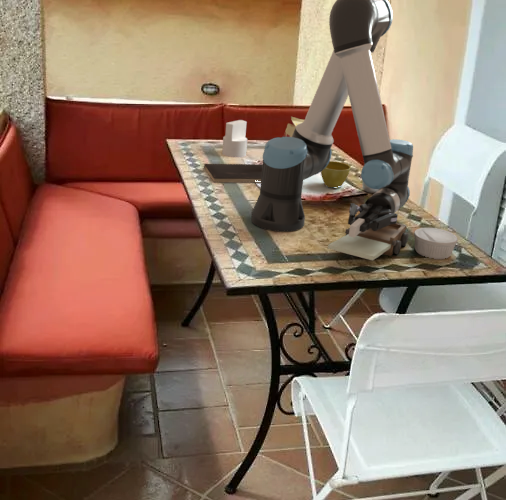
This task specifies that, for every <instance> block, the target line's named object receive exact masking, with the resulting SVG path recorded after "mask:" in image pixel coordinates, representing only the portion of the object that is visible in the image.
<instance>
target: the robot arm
mask: <svg viewBox="0 0 506 500" xmlns="http://www.w3.org/2000/svg"><path fill="white" fill-rule="evenodd" d="M393 19H394V13H393V9H392V6H391V3H390V2H389V1H388V0H335V1H334V4H333V5H332V7H331V9H330V13H329V21H328V23H329V24H328V25H329V32H330V38H331V43H332V44H331V45H332V47H333V50H332V53H331V56H330V58H329V60H328V63H327V65H326V67H325V70H324V72H323V75H322V76H321V80H320V81H319V84H318V86H317V88H316V91H315V94H314V96H313V99H312V101H311V103H310V106H309V108H308V111H307V113H306V115H305V117H304V118H305V119H303V120H304V122H303V123H301V124H298V125H297V126H296V128H295V130H294V133H293V135H292V137H283V136H282V137H274V138H271V139H269V140H268V141H267V142H266V143H265V145H264V149H263V153H262V163H261V164H262V175H261V182H260V186H259V187H260V191H259V195H258V197H257V200H256V202H255V205H254V206H253V208H252V211H251V218H250V219H251V223H252V224H254V225H255V226H256V227H259V228H260V229H264V230H268V231H274V232H293V231H298V230H300V229H302V228H304V227H305V221H306V216H305V211H304V207H303V200H302V194H303V193H302V192H303V184H304V181H305V180H306V179H309V178H311V177H314V176H315V175H318V174H321V171H322V170H323V169H324V168H325V167H326V166H327V165H328V163H329V161H331V158H332V153H333V152H332V146H333V144H334V138H333V135H332V133H333V132H334V128H335V127H336V124H337V122H338V120H339V117H340V115H341V113H342V111H343V109H344V105H345V103H346V101H347V99H349V102H350V106H351V111H352V115H353V120H354V124H355V128H356V132H357V133H356V134H357V137H358V142H359V145H360V146H359V147H360V150H361V154H362V158H363V163H364V164H363V167H362V169H361V171H360V172H361V174H360V178H361V180H362V183H363V182H364V183H365V185H366V186H368V187H369V188H372V189H379V190H378V191H377V192H376V193H372V195H371V196H370V197H368V199H366V201H365V202H364V203H362V204H360V205H357V204H356V203H354V202H353V203H351V202H350V205H349V209H348V210H349V211H348V213H349V215H348V221H347V224H348V225H349V228H350V230H349V236H350V237H356V236H357V235H358V234H359V233H360V232H365V231H366V230H369V229H370V228H371V229H372V230H373V231H377V230H379V229H381V228H384V227H386V226H388V225H391V224H396V223H398V222H397V221H398V213H397V211H399V210H400V209H401V208H402V207H404V206H405V205H406V203H407V202H408V200H409V198H410V193H411V191H410V188H409V180H410V179H409V178H410V174H411V173H410V172H411V167H412V162H413V161H412V160H413V157H414V155H413V154H414V145H413V143H412V142H411V141H408V140H403V139H397V138H395V139H392V138H391V139H390V135H389V131H388V125H387V123H386V117H385V112H384V107H383V103H382V100H381V95H380V89H379V85H378V80H377V76H376V75H377V74H376V71H375V68H374V63H373V62H374V61H373V59H372V54H373V53H375V50H376V48H377V45H378V43H379V41H380V39H381V37H383V36H384V35H385V34H386V33H387V32H388V31H389V30H390V28H391V26H392V24H393ZM357 213H358V214H357Z"/></svg>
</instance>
